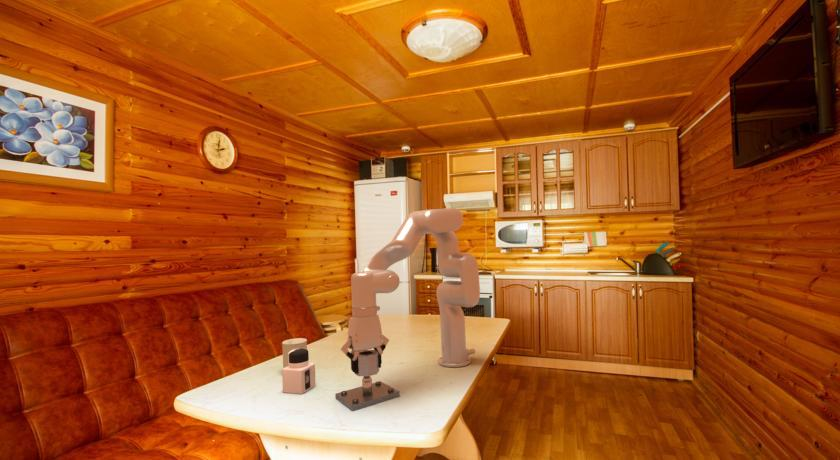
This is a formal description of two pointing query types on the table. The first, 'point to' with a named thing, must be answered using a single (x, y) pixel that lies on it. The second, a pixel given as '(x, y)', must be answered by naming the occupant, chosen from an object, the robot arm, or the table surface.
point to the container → (298, 372)
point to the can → (292, 347)
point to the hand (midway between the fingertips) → (366, 369)
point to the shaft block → (367, 394)
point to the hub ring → (368, 362)
